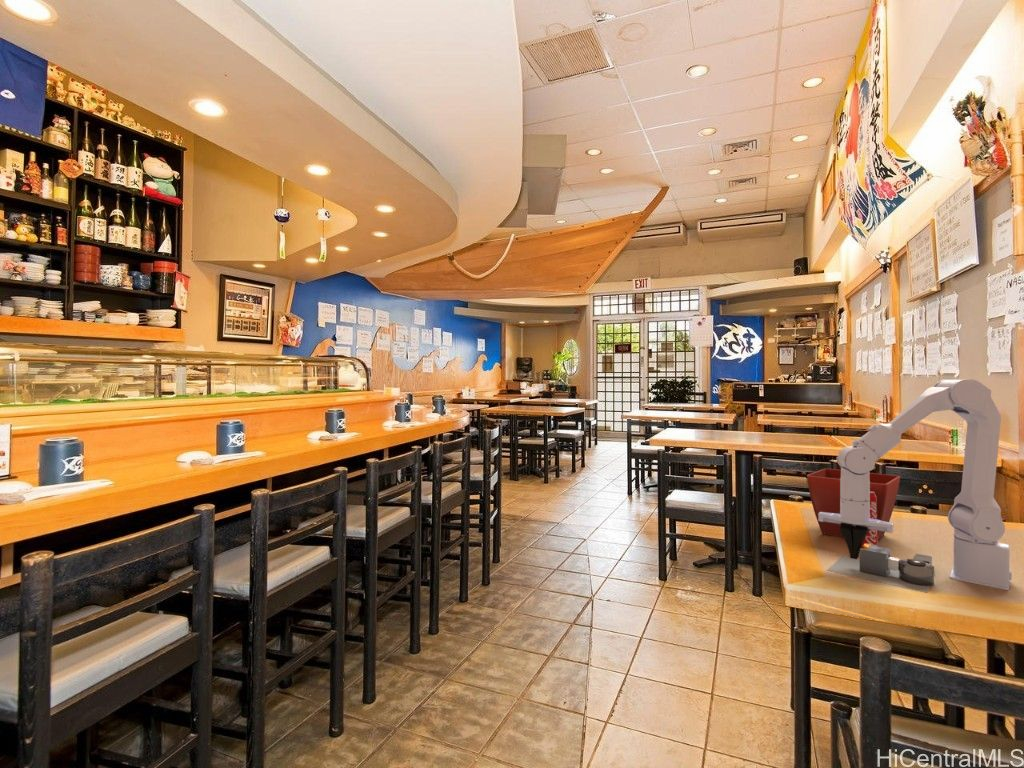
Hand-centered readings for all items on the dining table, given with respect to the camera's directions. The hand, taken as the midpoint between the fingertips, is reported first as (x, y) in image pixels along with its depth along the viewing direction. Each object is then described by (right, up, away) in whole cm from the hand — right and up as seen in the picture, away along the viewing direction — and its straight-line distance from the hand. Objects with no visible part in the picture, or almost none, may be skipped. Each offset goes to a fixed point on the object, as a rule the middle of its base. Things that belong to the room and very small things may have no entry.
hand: (854, 557), depth 122 cm
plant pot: (+18, -3, +28) cm, 33 cm away
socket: (+3, -2, -3) cm, 5 cm away
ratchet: (+10, -2, -3) cm, 11 cm away
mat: (+4, -3, -3) cm, 6 cm away
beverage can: (+12, -3, +15) cm, 19 cm away
